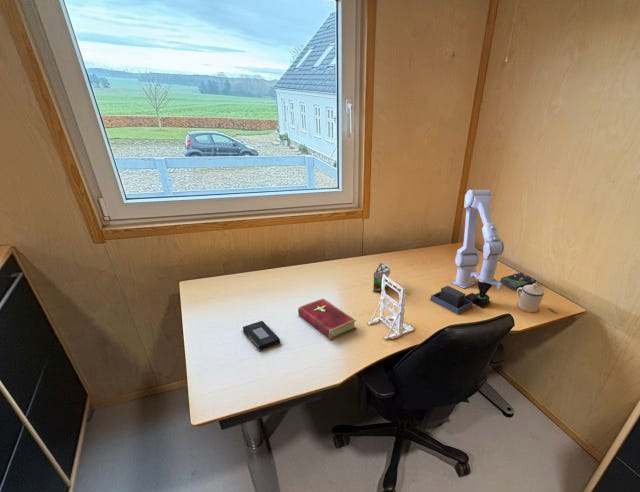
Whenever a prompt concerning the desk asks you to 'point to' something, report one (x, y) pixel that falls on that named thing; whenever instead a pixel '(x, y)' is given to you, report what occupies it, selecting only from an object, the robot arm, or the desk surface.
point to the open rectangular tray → (466, 305)
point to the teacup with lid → (530, 297)
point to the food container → (380, 277)
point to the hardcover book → (327, 318)
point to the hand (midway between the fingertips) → (482, 296)
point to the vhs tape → (261, 335)
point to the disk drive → (517, 281)
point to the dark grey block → (452, 296)
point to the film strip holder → (392, 311)
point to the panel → (478, 300)
